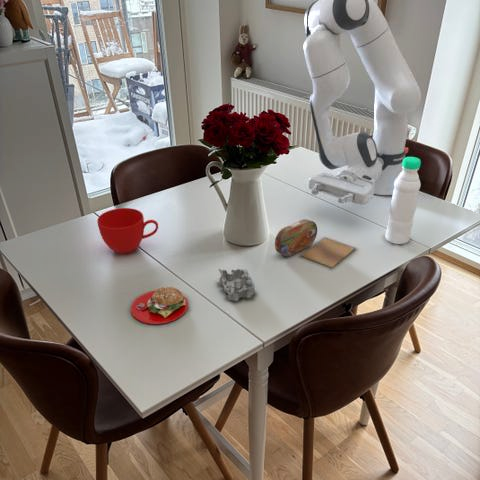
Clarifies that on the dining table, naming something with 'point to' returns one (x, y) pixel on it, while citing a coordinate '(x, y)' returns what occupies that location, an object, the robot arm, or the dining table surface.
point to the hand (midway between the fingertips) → (326, 196)
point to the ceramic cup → (123, 229)
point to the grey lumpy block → (237, 284)
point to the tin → (295, 237)
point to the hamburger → (159, 306)
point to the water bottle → (404, 202)
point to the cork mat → (328, 252)
